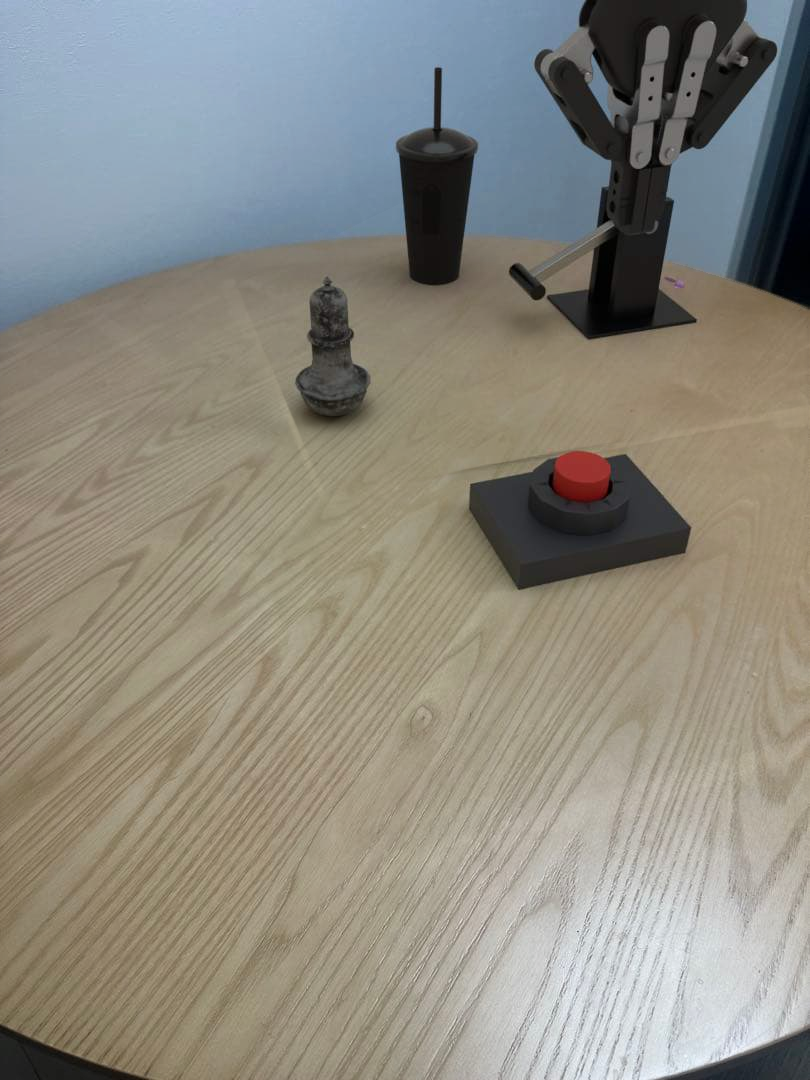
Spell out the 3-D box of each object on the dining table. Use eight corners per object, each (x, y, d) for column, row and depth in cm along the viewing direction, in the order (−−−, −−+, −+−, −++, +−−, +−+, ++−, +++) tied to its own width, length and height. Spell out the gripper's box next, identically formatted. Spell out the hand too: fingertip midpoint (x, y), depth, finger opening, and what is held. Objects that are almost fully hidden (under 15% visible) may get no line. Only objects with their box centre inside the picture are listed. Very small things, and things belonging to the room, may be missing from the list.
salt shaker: (286, 430, 74) (272, 286, 67) (316, 394, 79) (307, 255, 71) (355, 444, 73) (348, 299, 65) (382, 407, 77) (379, 266, 70)
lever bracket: (586, 348, 85) (604, 218, 77) (545, 306, 91) (557, 183, 84) (694, 331, 87) (721, 203, 80) (646, 291, 94) (667, 170, 87)
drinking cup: (487, 287, 95) (499, 70, 82) (425, 305, 92) (428, 83, 79) (442, 261, 100) (447, 54, 87) (382, 279, 97) (378, 65, 84)
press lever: (535, 308, 83) (526, 286, 81) (513, 285, 87) (504, 264, 85) (665, 226, 82) (659, 203, 80) (637, 207, 86) (630, 184, 84)
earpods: (665, 300, 96) (652, 291, 95) (674, 286, 96) (661, 276, 95) (681, 301, 93) (668, 291, 92) (690, 286, 93) (677, 276, 92)
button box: (621, 478, 69) (629, 432, 67) (685, 553, 63) (697, 505, 60) (468, 508, 66) (470, 461, 64) (518, 590, 60) (523, 541, 57)
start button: (592, 468, 64) (595, 446, 63) (617, 498, 61) (620, 476, 60) (543, 477, 63) (546, 455, 62) (566, 508, 60) (569, 486, 59)
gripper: (589, -140, 38) (552, 272, 49) (868, -153, 41) (773, 238, 52) (516, -153, 43) (497, 220, 54) (767, -164, 46) (700, 192, 57)
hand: (632, 228), depth 53 cm, fingers closed
